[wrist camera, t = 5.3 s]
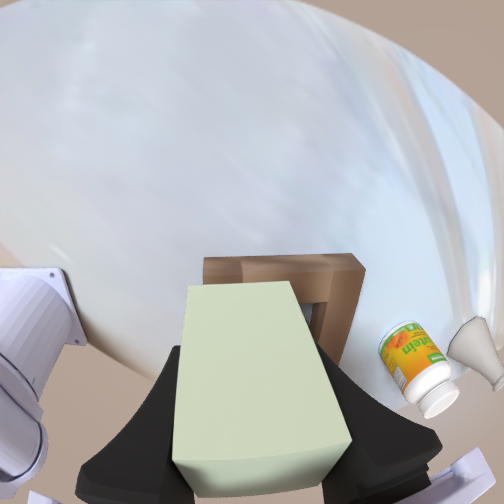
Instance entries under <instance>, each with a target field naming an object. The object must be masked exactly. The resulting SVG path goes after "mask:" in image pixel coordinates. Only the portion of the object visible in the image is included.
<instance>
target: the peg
mask: <svg viewBox="0 0 504 504" xmlns="http://www.w3.org/2000/svg"><path fill="white" fill-rule="evenodd" d="M351 442H352V439H351V436H350V433H349V431H348V428H347V425H346V423H345V420H344V417H343V415H342V412H341V410H340V407H339V404H338V402H337V399H336V396H335V394H334V391H333V389H332V386H331V384H330V381H329V378H328V376H327V373H326V371H325V368H324V366H323V363H322V361H321V358H320V356H319V353H318V351H317V348H316V346H315V343H314V341H313V338H312V336H311V333H310V331H309V328H308V326H307V323H306V321H305V318H304V316H303V314H302V311H301V309H300V306H299V304H298V301H297V299H296V297H295V294H294V292H293V289H292V287H291V285H290V282H289V281H277V282H258V283H236V284H211V285H189V286H188V293H187V300H186V307H185V315H184V323H183V331H182V340H181V349H180V358H179V368H178V379H177V390H176V402H175V416H174V432H173V452H172V460H173V461H174V463H175V465H176V466H177V468H178V469H179V471H180V472H181V474H182V475H183V477H184V478H185V480H186V481H187V483H188V484H189V486H190V487H191V488H192V490H193V491H194V492H195V494H196V495H197V497H199V498H201V497H202V498H213V497H214V498H220V497H242V496H254V495H264V494H273V493H280V492H287V491H293V490H299V489H304V488H309V487H314V486H318V485H319V484H320V483H321V481H322V480H323V479H324V478H325V476H326V475H327V474H328V473H329V471H330V470H331V469H332V468H333V466H334V465H335V464H336V462H337V461H338V460H339V458H340V457H341V456H342V454H343V453H344V451H345V450H346V449H347V447H348V446H349V444H350V443H351Z"/></svg>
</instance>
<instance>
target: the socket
mask: <svg viewBox="0 0 504 504" xmlns="http://www.w3.org/2000/svg"><path fill="white" fill-rule="evenodd" d="M365 271H366V269H365V268H364V266H363V265H362V264H361V263H360V262H359V261H358V260H357V259H356V257H355V256H354V255H353V254H352V253H345V254H312V255H278V256H242V257H204V264H203V285H211V284H236V283H258V282H277V281H289V282H290V285H291V287H292V289H293V292H294V294H295V297H296V299H297V301H298V304H305V303H314V305H313V310H312V316H311V321H310V326H309V331H310V333H311V336H312V338H313V339H314V340H315V341H316V342H317V343H318V344H319V346H320V347H321V348H322V349H323V350H324V351H325V353H326V354H327V355H328V356H329V357H330V358H331V359H332V361H333V362H334V363H335V364H336V365H337V366H338V364H339V362H340V359H341V356H342V353H343V350H344V347H345V343H346V340H347V337H348V334H349V331H350V327H351V324H352V320H353V317H354V313H355V310H356V306H357V303H358V299H359V295H360V291H361V287H362V283H363V279H364V275H365Z"/></svg>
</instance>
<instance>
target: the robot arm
mask: <svg viewBox="0 0 504 504" xmlns="http://www.w3.org/2000/svg"><path fill="white" fill-rule="evenodd" d="M52 273H53V274H54V275H55V276H54V275H53V274H52ZM313 341H314V343H315V346H316V348H317V351H318V353H319V356H320V358H321V361H322V363H323V366H324V368H325V371H326V373H327V376H328V378H329V381H330V384H331V386H332V389H333V391H334V394H335V396H336V399H337V402H338V404H339V407H340V410H341V412H342V415H343V417H344V420H345V423H346V425H347V428H348V431H349V433H350V436H351V439H352V442H351V443H350V444H349V446H348V447H347V449H346V450H345V451H344V453H343V454H342V456H341V457H340V458H339V460H338V461H337V462H336V464H335V465H334V466H333V468H332V469H331V470H330V471H329V473H328V474H327V475H326V476H325V478H324V479H323V480H322V481H321V482H322V488H323V497H324V504H470V503H472V502H473V501H474V500H475V499H476V498H478V497H479V496H480V495H481V494H483V493H484V492H485V491H486V490H488V489H489V488H490V487H491V486H492V485H494V484H495V482H496V481H495V478H494V476H493V474H492V472H491V470H490V468H489V466H488V465H487V463H486V461H485V459H484V457H483V455H482V453H481V451H480V450H479V448H478V447H475V448H474V449H472V450H471V451H469V452H468V453H466V454H465V455H463V456H462V457H460V458H459V459H457V460H456V461H455V462H454V463H452V464H451V465H450V466H449V467H447V468H446V469H444V470H442V471H440V472H438V473H437V474H435V475H433V476H431V477H428V475H427V473H426V471H428V470H429V467H428V466H427V463H428V462H429V461H430V460H431V459H432V458H434V457H435V456H436V455H437V454H438V453H439V452H440V451H441V450H442V447H443V446H442V444H441V442H440V440H439V438H438V436H437V434H436V433H435V431H434V430H432V429H430V428H427V427H424V426H422V425H419V424H417V423H414V422H412V421H410V420H408V419H406V418H404V417H402V416H400V415H398V414H397V413H395V412H393V411H392V410H390V409H388V408H387V407H385V406H384V405H382V404H381V403H379V402H378V401H376V400H375V399H374V398H372V397H371V396H370V395H368V394H367V393H366V392H365V391H363V390H362V389H361V388H360V387H359V386H358V385H356V384H355V383H354V382H353V381H352V380H351V379H350V378H349V377H348V376H347V375H346V374H345V373H344V372H343V371H342V370H341V369H340V368H339V367H338V366H337V365H336V364H335V363H334V362H333V361H332V359H331V358H330V357H329V356H328V355H327V354H326V353H325V351H324V350H323V349H322V348H321V347H320V346H319V344H318V343H317V342H316V341H315V340H314V339H313ZM64 344H72V345H81V346H85V345H86V344H87V339H86V336H85V334H84V331H83V329H82V326H81V324H80V321H79V318H78V316H77V313H76V310H75V308H74V305H73V302H72V299H71V296H70V293H69V290H68V287H67V284H66V280H65V277H64V274H63V272H62V270H61V269H59V268H0V499H11V498H13V497H14V495H15V494H16V492H17V490H18V489H19V488H20V486H21V485H22V484H24V483H25V482H27V481H28V480H30V479H32V478H33V477H34V476H35V475H37V473H38V472H39V471H40V470H41V468H42V467H43V465H44V463H45V460H46V456H47V451H48V436H47V432H46V429H45V427H44V425H43V424H42V423H41V422H40V420H41V417H42V414H43V412H44V411H43V409H42V408H41V407H40V406H39V404H38V402H39V399H40V397H41V394H42V392H43V389H44V387H45V385H46V382H47V380H48V378H49V376H50V373H51V371H52V369H53V367H54V364H55V362H56V360H57V358H58V356H59V354H60V352H61V350H62V348H63V346H64ZM180 349H181V346H174V347H173V348H172V350H171V353H170V355H169V357H168V360H167V362H166V364H165V366H164V368H163V370H162V372H161V374H160V375H159V377H158V379H157V381H156V383H155V385H154V386H153V388H152V390H151V391H150V393H149V394H148V396H147V397H146V399H145V401H144V402H143V404H142V405H141V406H140V408H139V409H138V411H137V412H136V413H135V415H134V416H133V418H132V419H131V420H130V421H129V422H128V423H127V424H126V426H125V427H124V428H123V429H122V430H121V431H120V432H119V433H118V435H117V436H116V437H115V438H114V439H112V440H111V442H109V443H108V444H107V445H106V446H105V447H104V448H103V449H102V450H101V451H100V452H98V453H97V454H96V455H95V456H94V457H92V458H91V459H90V460H88V461H87V462H86V463H84V464H83V465H82V466H81V469H80V472H79V475H78V478H77V484H76V490H75V494H76V496H77V497H78V498H79V499H81V500H82V501H84V502H86V503H88V504H195V501H194V491H193V490H192V488H191V487H190V486H189V484H188V483H187V481H186V480H185V478H184V477H183V475H182V474H181V472H180V471H179V469H178V468H177V466H176V465H175V463H174V461H173V460H172V452H173V432H174V416H175V402H176V390H177V379H178V368H179V358H180ZM27 504H62V503H61V502H59V501H57V500H54V499H52V498H50V497H47V496H45V495H42V494H40V493H38V492H35V491H33V490H30V493H29V498H28V503H27Z"/></svg>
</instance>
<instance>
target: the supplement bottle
mask: <svg viewBox="0 0 504 504" xmlns="http://www.w3.org/2000/svg"><path fill="white" fill-rule="evenodd" d="M379 353H380V355H381V357H382V359H383V361H384V363H385V364H386V366H387V368H388V369H389V371H390V373H391V375H392V376H393V378H394V380H395V382H396V383H397V385H398V387H399V389H400V390H401V392H402V394H403V396H404V397H405V399H406V400H407V401H408V402H409V403H411V404H419V410H420V411H421V413H422V415H423V416H424V418H426V419H427V418H431V417H434V416H436V415H438V414H439V413H441V412H442V411H444V410H445V409H446V408H448V407H449V406H450V405H451V404H452V403H453V402H454V401H455V400H456V398H457V397H458V395H459V390H458V388H457V387H456V385H455V383H454V382H453V381H452V380H449V379H450V377H451V373H452V369H451V366H450V364H449V362H448V361H447V360H446V358H445V357H444V356H443V354H442V353H441V352H440V350H439V349H438V348H437V347H436V345H435V344H434V343H433V341H432V340H431V339H430V337H429V336H428V335H427V334H426V332H425V331H424V330H423V328H422V327H421V326H420V325H419V324H418V323H417V322H415V321H406V322H403V323H400V324H399V325H397V326H395V327H394V328H393V329H391V330H390V331H389V332H388V333H387V334H386V335H385V337H384V338H383V339H382V341H381V343H380V347H379Z"/></svg>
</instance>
